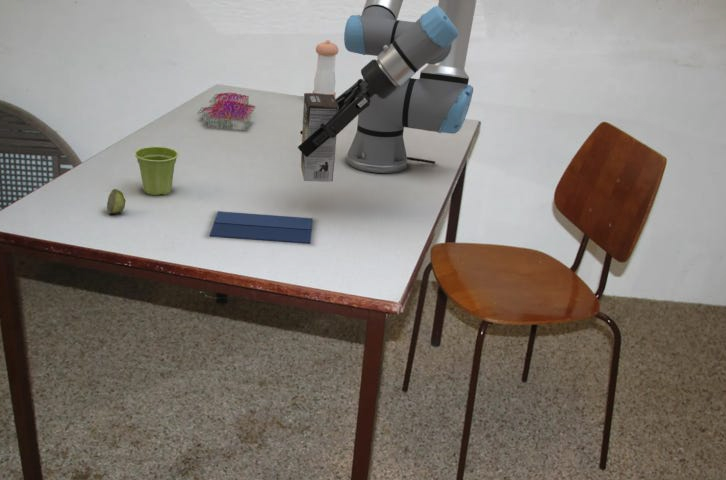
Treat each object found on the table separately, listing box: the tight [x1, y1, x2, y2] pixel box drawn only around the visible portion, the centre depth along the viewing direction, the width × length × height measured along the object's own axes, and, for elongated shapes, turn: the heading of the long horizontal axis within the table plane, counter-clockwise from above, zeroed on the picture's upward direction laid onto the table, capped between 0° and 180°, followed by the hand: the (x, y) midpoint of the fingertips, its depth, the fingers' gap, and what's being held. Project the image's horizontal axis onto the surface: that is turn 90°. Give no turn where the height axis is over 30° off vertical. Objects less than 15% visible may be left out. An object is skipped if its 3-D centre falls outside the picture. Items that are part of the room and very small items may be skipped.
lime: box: [106, 188, 126, 215], centre depth 165 cm, size 4×5×5 cm
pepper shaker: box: [312, 39, 340, 98], centre depth 247 cm, size 7×7×19 cm
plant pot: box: [134, 146, 179, 196], centre depth 176 cm, size 9×9×9 cm
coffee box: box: [300, 92, 339, 183], centre depth 166 cm, size 9×6×16 cm
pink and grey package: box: [196, 91, 256, 131], centre depth 232 cm, size 30×15×5 cm, turn 173°
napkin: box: [209, 210, 313, 244], centre depth 163 cm, size 20×12×1 cm, turn 87°
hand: (303, 144), depth 167 cm, fingers closed on coffee box, 9 cm apart
